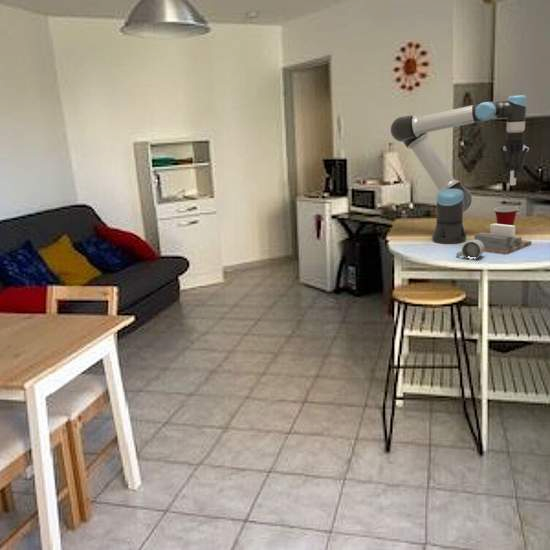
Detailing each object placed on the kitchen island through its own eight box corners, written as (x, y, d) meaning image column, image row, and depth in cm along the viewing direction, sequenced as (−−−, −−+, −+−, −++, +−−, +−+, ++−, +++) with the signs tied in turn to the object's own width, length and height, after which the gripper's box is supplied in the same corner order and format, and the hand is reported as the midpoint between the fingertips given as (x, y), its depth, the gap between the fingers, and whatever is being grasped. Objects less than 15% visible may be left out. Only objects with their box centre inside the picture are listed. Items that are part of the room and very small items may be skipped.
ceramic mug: (485, 255, 236) (485, 237, 234) (480, 260, 230) (480, 242, 228) (459, 254, 242) (459, 236, 240) (454, 259, 236) (454, 240, 234)
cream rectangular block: (493, 241, 253) (493, 223, 251) (514, 243, 246) (515, 225, 244) (489, 242, 251) (490, 224, 249) (511, 245, 244) (512, 226, 242)
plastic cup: (487, 232, 279) (488, 207, 276) (504, 229, 283) (506, 205, 279) (504, 235, 269) (505, 210, 266) (521, 232, 273) (523, 207, 270)
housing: (496, 240, 262) (497, 226, 260) (531, 244, 250) (532, 229, 248) (471, 249, 248) (471, 234, 246) (506, 254, 236) (507, 239, 234)
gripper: (534, 130, 250) (530, 184, 256) (505, 131, 259) (503, 183, 266) (525, 132, 245) (522, 186, 252) (497, 132, 255) (495, 185, 261)
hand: (512, 184), depth 259 cm, fingers closed
